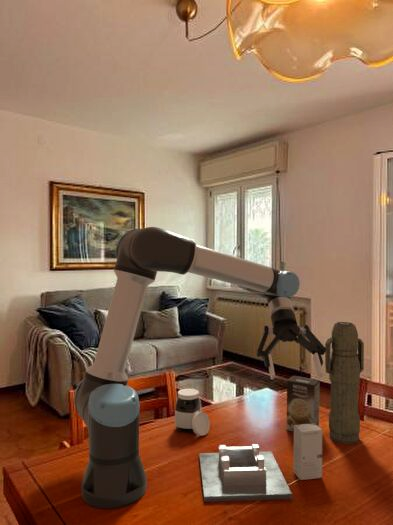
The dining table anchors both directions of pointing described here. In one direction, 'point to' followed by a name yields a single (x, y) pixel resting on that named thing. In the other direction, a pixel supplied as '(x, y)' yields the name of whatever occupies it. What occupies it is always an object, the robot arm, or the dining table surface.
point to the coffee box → (302, 401)
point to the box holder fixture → (242, 475)
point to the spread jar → (190, 413)
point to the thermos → (344, 381)
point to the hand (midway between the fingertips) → (297, 376)
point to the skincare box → (307, 451)
